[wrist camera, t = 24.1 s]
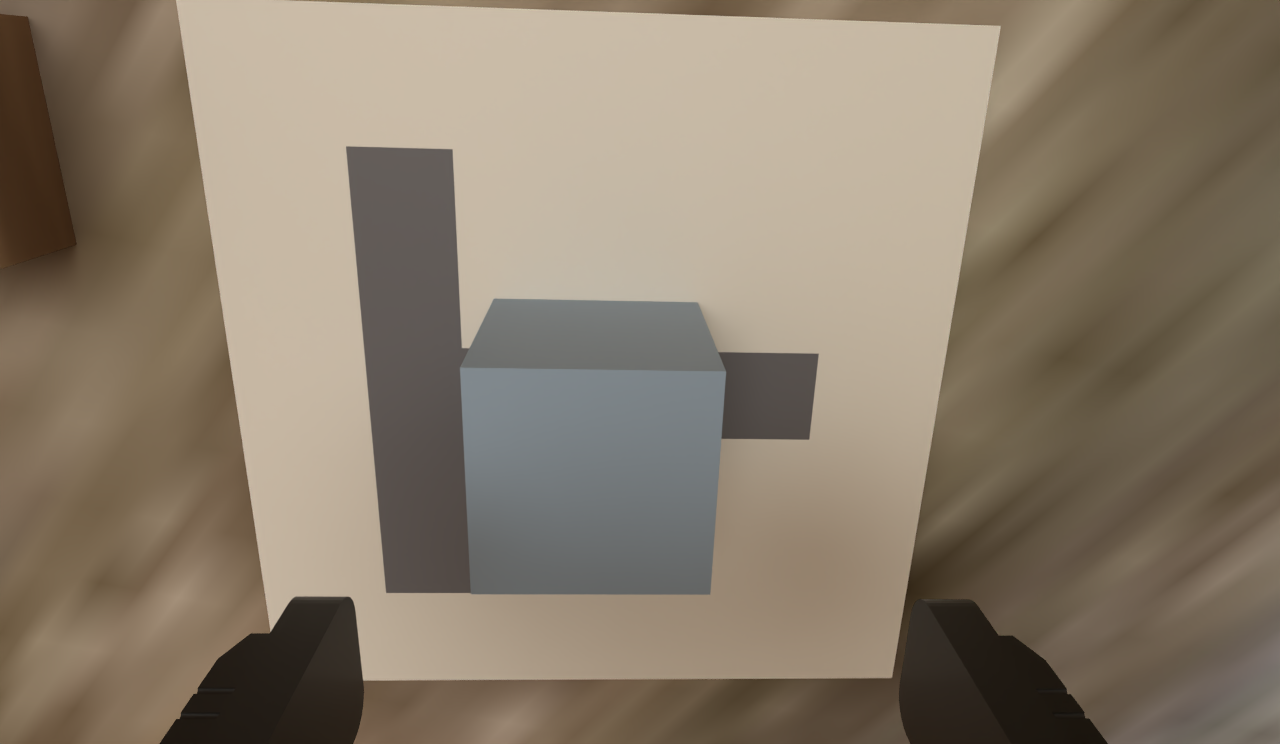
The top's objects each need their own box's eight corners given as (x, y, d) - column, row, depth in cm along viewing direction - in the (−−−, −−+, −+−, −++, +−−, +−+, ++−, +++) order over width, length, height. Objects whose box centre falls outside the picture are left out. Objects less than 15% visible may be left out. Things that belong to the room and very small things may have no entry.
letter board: (992, 27, 19) (1000, 25, 18) (887, 669, 25) (892, 678, 24) (184, -2, 18) (175, -4, 17) (283, 671, 24) (277, 681, 24)
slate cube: (697, 302, 20) (726, 371, 15) (687, 483, 22) (710, 594, 17) (494, 298, 20) (459, 367, 15) (499, 481, 22) (470, 594, 17)
